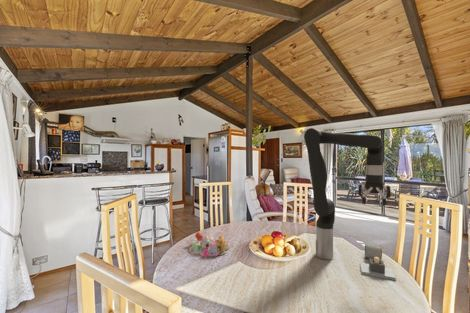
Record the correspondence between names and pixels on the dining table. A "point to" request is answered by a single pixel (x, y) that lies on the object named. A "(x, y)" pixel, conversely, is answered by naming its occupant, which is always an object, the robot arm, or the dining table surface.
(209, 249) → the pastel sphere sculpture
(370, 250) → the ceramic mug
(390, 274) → the peg board
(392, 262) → the dining table surface
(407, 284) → the dining table surface
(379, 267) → the grey block
